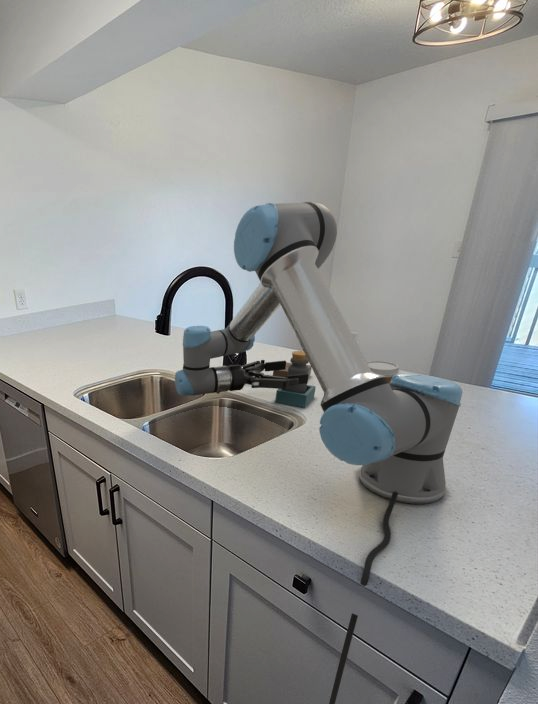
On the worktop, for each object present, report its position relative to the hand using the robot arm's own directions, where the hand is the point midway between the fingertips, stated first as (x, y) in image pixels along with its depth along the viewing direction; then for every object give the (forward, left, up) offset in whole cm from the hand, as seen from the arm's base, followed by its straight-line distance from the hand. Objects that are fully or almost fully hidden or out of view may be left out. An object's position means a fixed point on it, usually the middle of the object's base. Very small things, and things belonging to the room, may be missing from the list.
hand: (295, 371), depth 130 cm
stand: (+20, +7, -9) cm, 23 cm away
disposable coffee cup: (+8, -21, -10) cm, 24 cm away
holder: (0, -1, -9) cm, 9 cm away
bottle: (0, -1, -10) cm, 10 cm away
